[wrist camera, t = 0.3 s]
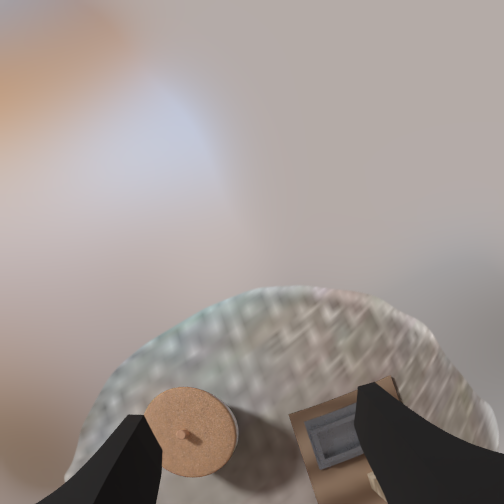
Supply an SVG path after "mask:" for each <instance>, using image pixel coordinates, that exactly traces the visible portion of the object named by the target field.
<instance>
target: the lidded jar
mask: <svg viewBox="0 0 504 504" xmlns="http://www.w3.org/2000/svg"><path fill="white" fill-rule="evenodd" d="M144 416H145V418H146V420H147V422H148V424H149V426H150V428H151V430H152V432H153V433H154V435H155V437H156V439H157V441H158V443H159V444H160V446H161V448H162V450H163V453H162V467H163V468H165V469H166V470H168V471H170V472H172V473H174V474H177V475H180V476H184V477H202V476H206V475H209V474H212V473H214V472H216V471H217V470H219V469H220V468H222V467H223V466H224V465H225V464H226V463H227V462H228V460H229V459H230V458H231V456H232V454H233V452H234V450H235V448H236V445H237V442H238V434H239V432H238V425H237V421H236V418H235V416H234V414H233V412H232V411H231V409H230V408H229V407H228V406H227V405H226V404H225V403H224V402H223V401H222V400H221V399H219V398H218V397H216V396H215V395H213V394H210V393H208V392H206V391H203V390H200V389H197V388H191V387H178V388H172V389H169V390H166V391H165V392H163V393H161V394H159V395H158V396H157V397H155V398H154V399H153V400H152V402H151V403H150V404H149V406H148V407H147V409H146V411H145V413H144Z"/></svg>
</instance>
